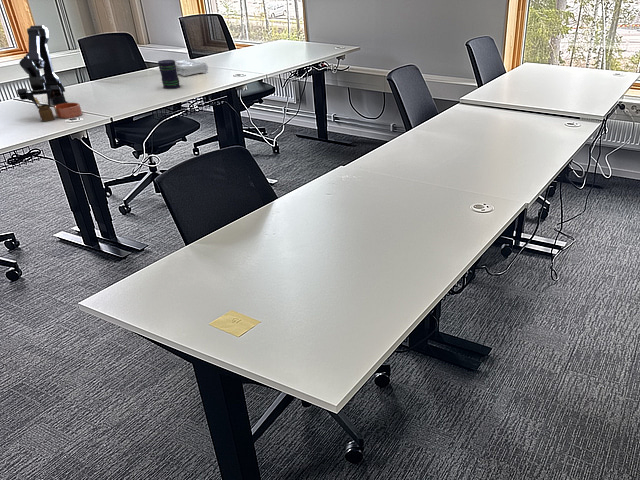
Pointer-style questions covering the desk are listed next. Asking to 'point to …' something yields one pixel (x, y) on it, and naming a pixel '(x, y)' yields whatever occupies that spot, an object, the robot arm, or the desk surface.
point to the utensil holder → (45, 111)
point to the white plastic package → (190, 67)
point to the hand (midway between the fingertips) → (43, 107)
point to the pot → (68, 110)
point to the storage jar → (169, 74)
